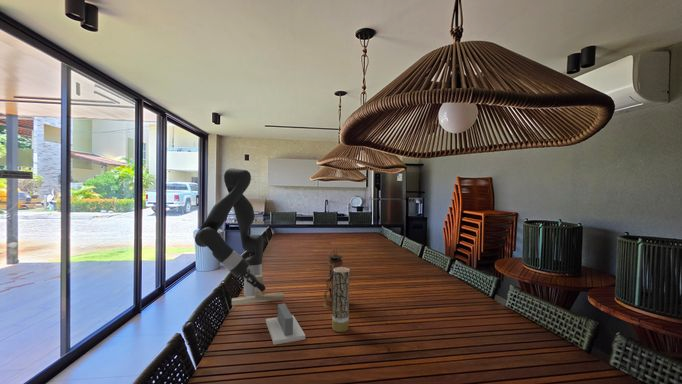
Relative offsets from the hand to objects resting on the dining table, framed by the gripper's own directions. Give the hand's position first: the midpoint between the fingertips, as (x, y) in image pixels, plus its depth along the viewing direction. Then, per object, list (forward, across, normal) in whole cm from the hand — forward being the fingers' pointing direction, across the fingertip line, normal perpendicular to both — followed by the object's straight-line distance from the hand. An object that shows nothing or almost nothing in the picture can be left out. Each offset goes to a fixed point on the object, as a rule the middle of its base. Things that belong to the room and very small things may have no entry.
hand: (263, 288), depth 124 cm
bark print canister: (+30, -20, -11) cm, 38 cm away
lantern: (+36, +5, -16) cm, 40 cm away
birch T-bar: (+2, 0, +5) cm, 6 cm away
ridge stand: (+15, -13, +5) cm, 20 cm away
